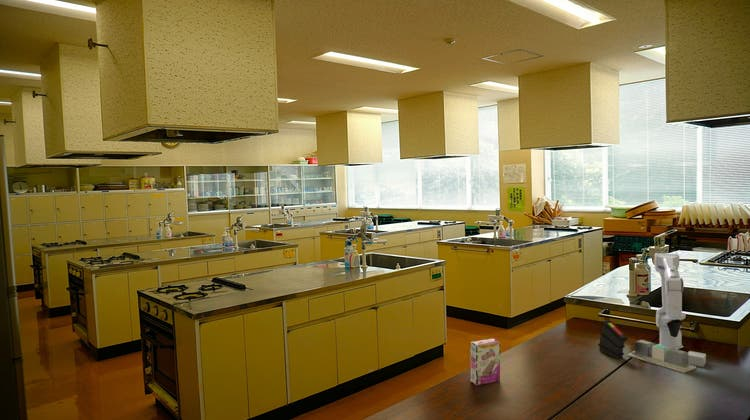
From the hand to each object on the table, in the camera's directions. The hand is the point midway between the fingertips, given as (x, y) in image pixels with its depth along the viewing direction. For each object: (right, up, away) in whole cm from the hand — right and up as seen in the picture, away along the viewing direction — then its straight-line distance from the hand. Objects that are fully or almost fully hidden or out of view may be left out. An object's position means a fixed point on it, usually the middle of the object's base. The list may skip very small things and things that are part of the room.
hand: (673, 336), depth 209 cm
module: (-6, -9, -1) cm, 11 cm away
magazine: (-23, -11, +8) cm, 26 cm away
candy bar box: (-86, -14, -16) cm, 88 cm away
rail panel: (-6, -11, -1) cm, 12 cm away
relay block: (+7, -11, -3) cm, 13 cm away
